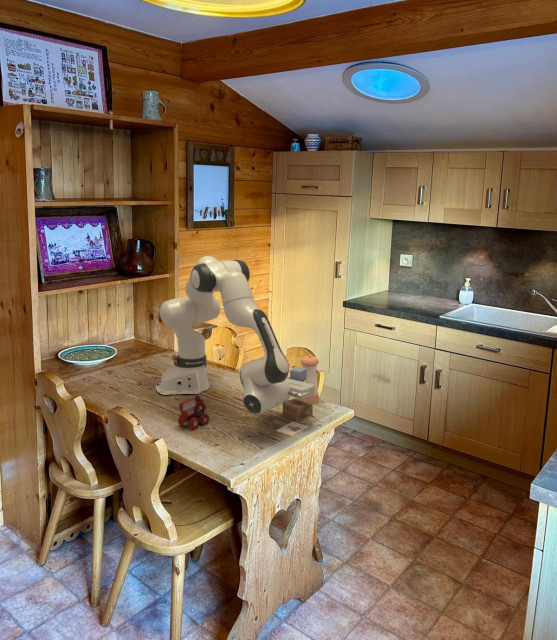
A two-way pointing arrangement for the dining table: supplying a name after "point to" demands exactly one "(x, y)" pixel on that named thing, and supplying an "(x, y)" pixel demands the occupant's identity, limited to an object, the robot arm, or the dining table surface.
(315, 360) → the pepper shaker
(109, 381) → the dining table surface
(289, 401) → the walnut block
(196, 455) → the dining table surface
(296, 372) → the gray brick
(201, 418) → the toy fire truck
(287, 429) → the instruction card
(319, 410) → the dining table surface
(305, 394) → the robot arm
